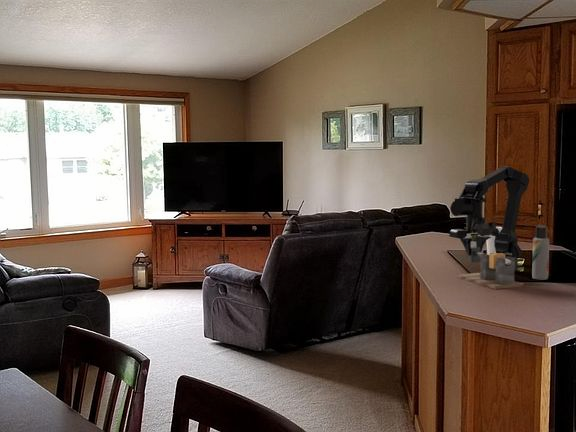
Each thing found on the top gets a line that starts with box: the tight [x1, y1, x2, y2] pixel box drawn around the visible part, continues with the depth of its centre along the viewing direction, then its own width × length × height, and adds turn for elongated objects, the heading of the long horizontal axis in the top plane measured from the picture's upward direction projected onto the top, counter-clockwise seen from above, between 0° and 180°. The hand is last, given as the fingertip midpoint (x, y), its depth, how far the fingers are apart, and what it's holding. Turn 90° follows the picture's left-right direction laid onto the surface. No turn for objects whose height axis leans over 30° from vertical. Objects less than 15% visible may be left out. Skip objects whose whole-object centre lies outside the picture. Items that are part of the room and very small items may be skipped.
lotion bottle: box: [531, 224, 550, 281], centre depth 244 cm, size 6×6×20 cm
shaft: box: [467, 247, 511, 265], centre depth 239 cm, size 22×4×6 cm, turn 19°
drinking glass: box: [485, 226, 503, 255], centre depth 281 cm, size 7×7×15 cm
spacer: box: [489, 253, 505, 269], centre depth 235 cm, size 2×5×5 cm, turn 109°
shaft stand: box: [456, 253, 524, 290], centre depth 240 cm, size 23×12×10 cm, turn 19°
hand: (473, 255), depth 248 cm, fingers closed on shaft, 4 cm apart
